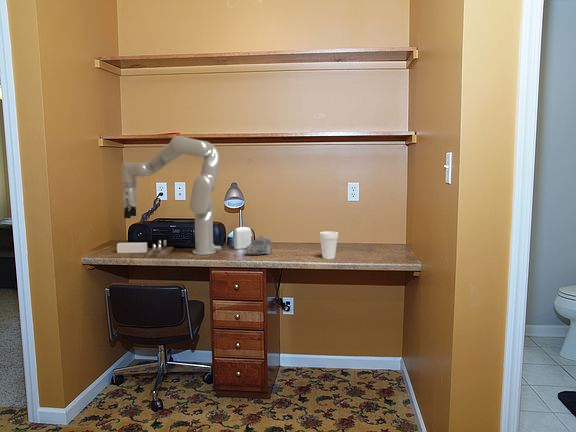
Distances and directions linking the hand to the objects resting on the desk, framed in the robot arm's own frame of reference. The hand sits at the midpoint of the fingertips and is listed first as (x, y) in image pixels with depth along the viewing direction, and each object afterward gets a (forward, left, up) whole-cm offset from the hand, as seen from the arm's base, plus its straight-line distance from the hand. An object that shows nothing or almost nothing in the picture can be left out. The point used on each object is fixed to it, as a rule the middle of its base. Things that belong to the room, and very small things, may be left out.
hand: (130, 217), depth 244 cm
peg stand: (-16, +4, -19) cm, 26 cm away
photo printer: (-60, -8, -20) cm, 64 cm away
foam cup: (-106, +19, -20) cm, 110 cm away
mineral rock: (-70, +9, -20) cm, 74 cm away
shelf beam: (0, 0, -20) cm, 20 cm away
